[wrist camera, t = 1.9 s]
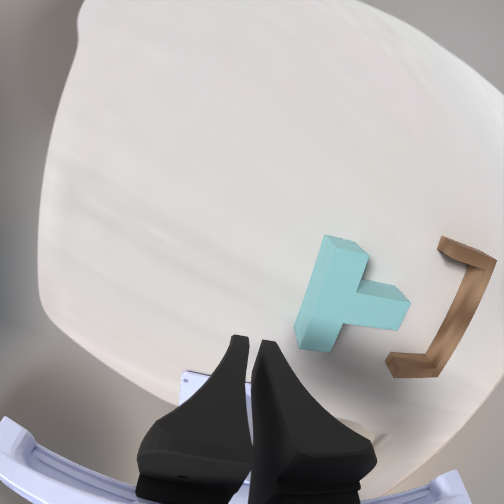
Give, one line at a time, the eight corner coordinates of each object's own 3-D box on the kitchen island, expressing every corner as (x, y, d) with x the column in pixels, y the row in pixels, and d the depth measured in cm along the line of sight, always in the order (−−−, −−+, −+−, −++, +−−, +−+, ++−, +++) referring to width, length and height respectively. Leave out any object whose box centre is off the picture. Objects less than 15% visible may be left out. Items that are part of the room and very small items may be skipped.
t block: (371, 337, 23) (382, 357, 20) (294, 326, 23) (298, 348, 20) (406, 255, 21) (424, 269, 18) (324, 234, 20) (335, 247, 17)
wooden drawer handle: (427, 363, 25) (437, 377, 22) (384, 361, 24) (393, 378, 22) (481, 251, 20) (497, 260, 18) (441, 235, 20) (458, 244, 18)
